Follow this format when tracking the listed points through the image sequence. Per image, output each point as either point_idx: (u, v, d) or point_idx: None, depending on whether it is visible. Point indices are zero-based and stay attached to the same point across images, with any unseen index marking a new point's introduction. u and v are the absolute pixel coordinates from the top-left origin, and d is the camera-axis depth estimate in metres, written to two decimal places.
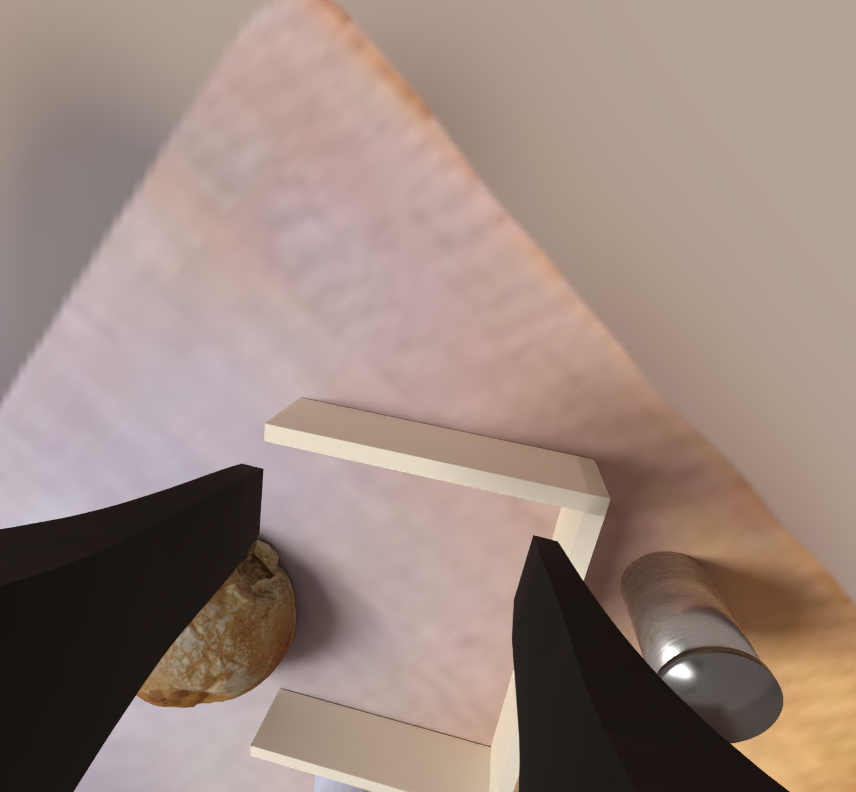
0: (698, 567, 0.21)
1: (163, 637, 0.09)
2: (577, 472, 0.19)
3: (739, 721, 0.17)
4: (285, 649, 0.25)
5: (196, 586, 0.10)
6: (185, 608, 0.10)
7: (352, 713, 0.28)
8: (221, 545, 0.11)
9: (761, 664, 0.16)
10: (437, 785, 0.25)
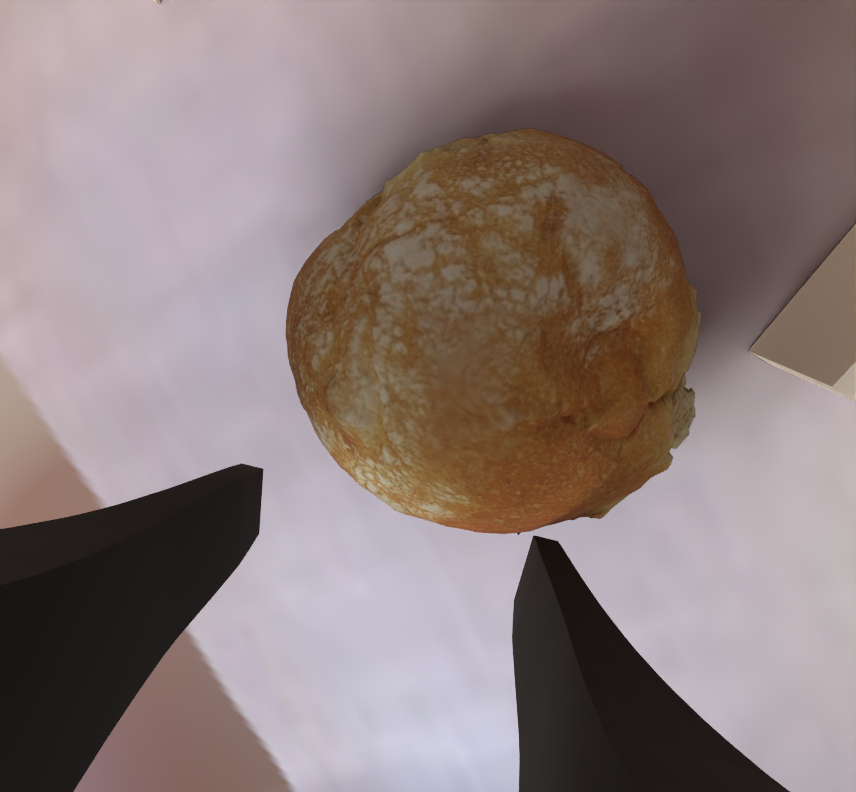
0: None
1: (163, 637, 0.09)
2: None
3: None
4: None
5: (196, 586, 0.10)
6: (185, 608, 0.10)
7: None
8: (221, 545, 0.11)
9: None
10: None
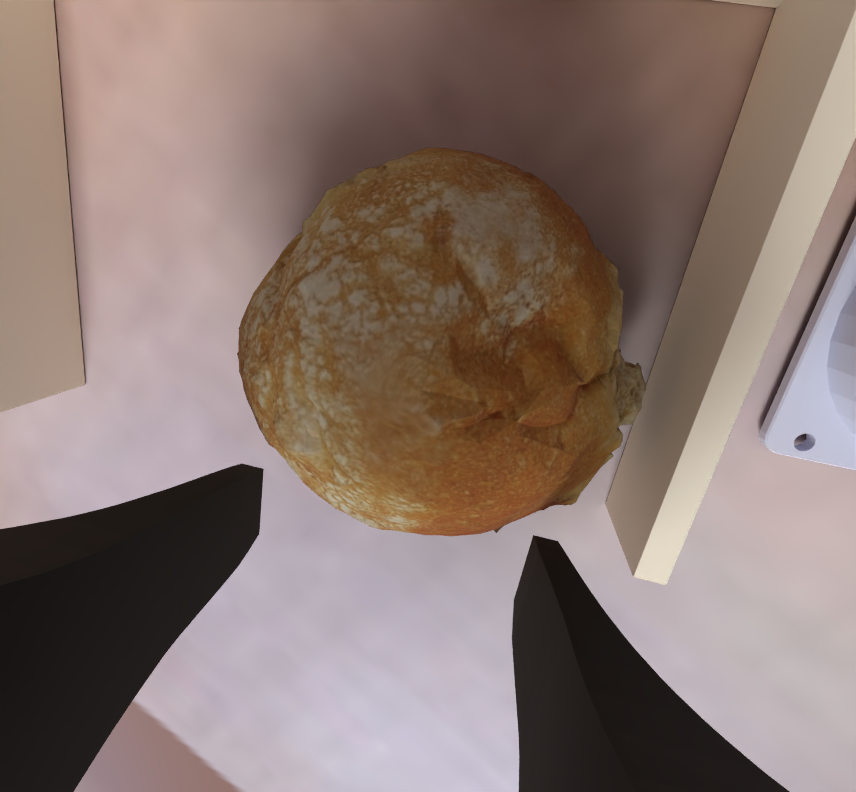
0: None
1: (164, 637, 0.09)
2: None
3: None
4: None
5: (196, 586, 0.10)
6: (185, 608, 0.10)
7: (657, 364, 0.13)
8: (221, 545, 0.11)
9: None
10: (795, 115, 0.09)
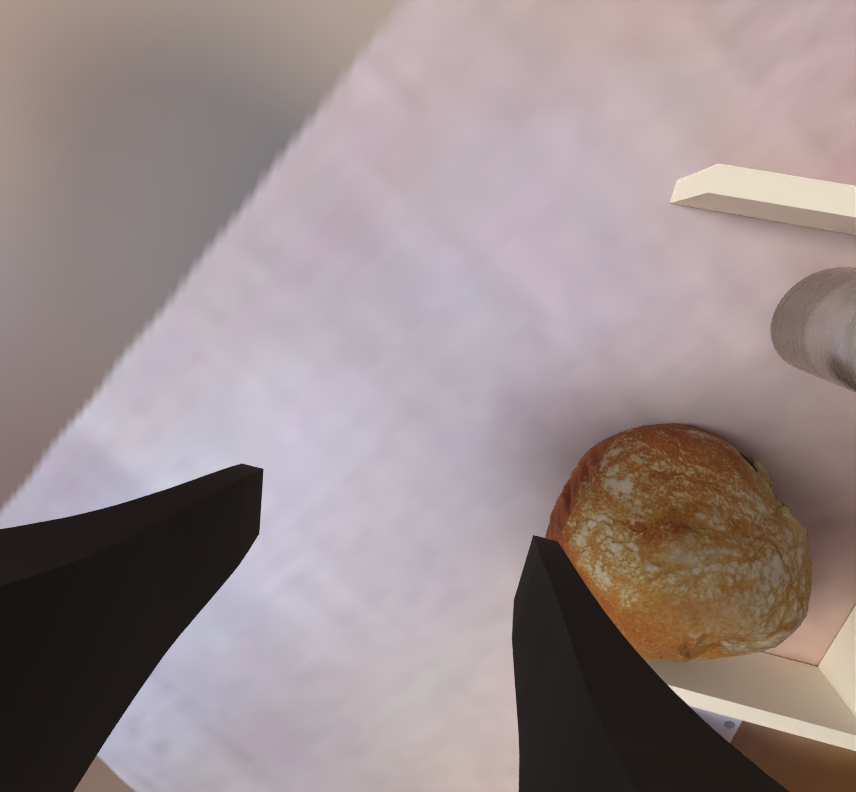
0: None
1: (164, 637, 0.09)
2: None
3: None
4: None
5: (196, 586, 0.10)
6: (185, 608, 0.10)
7: None
8: (221, 545, 0.11)
9: None
10: (789, 704, 0.20)
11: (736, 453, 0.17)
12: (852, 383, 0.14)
